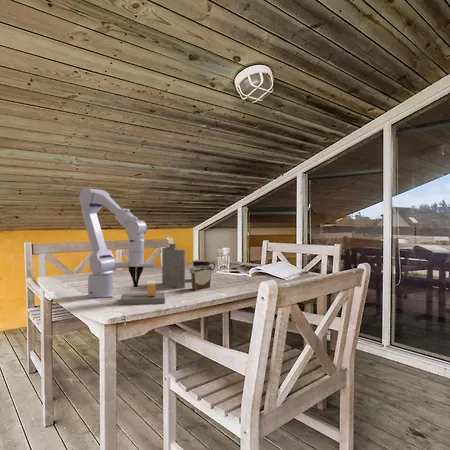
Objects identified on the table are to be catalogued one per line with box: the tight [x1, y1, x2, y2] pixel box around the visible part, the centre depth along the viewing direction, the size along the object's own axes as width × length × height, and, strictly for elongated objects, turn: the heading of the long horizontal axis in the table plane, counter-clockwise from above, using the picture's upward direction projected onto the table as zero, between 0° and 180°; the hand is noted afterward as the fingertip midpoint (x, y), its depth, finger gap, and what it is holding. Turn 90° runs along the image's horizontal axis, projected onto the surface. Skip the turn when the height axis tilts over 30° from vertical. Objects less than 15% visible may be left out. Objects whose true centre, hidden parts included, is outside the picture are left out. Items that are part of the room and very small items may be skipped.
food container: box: [189, 265, 213, 292], centre depth 159 cm, size 12×6×10 cm, turn 141°
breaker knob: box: [146, 280, 157, 296], centre depth 135 cm, size 3×5×5 cm, turn 12°
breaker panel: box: [120, 291, 166, 306], centre depth 134 cm, size 16×10×2 cm, turn 102°
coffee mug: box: [192, 259, 216, 271], centre depth 182 cm, size 12×9×10 cm
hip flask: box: [161, 243, 186, 289], centre depth 165 cm, size 16×4×20 cm, turn 44°
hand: (135, 286), depth 136 cm, fingers closed
